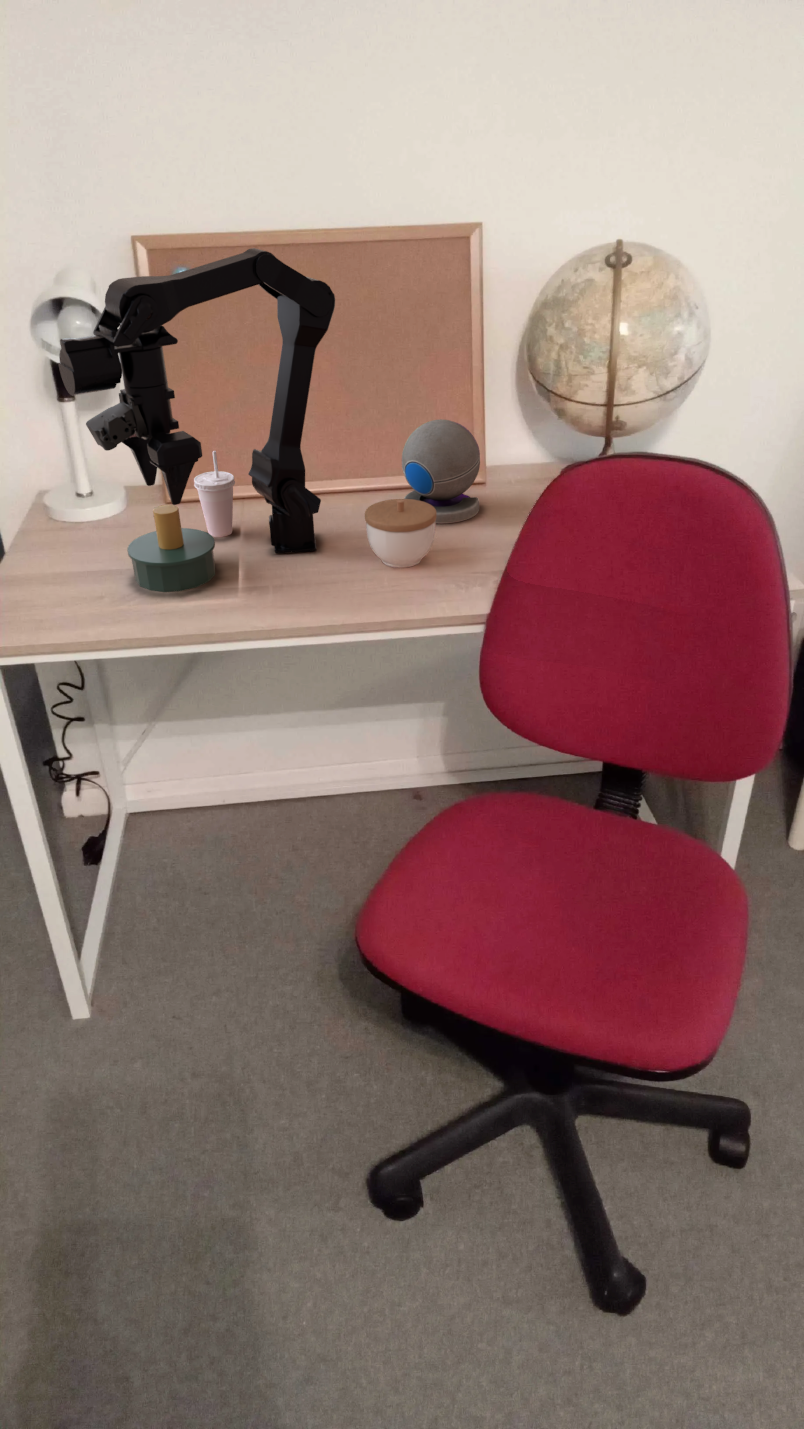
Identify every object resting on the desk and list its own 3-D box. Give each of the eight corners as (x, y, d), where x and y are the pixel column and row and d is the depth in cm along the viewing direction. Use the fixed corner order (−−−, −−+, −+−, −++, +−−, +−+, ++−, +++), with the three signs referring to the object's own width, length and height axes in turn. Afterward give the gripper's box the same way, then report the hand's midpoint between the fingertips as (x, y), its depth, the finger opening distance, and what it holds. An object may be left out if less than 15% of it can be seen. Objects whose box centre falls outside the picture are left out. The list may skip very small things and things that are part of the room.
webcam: (493, 507, 169) (496, 419, 161) (446, 530, 161) (446, 439, 153) (434, 490, 176) (435, 405, 168) (386, 511, 168) (384, 423, 160)
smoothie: (230, 545, 157) (220, 459, 150) (193, 540, 159) (182, 455, 151) (247, 529, 162) (238, 446, 155) (211, 525, 164) (201, 442, 156)
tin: (216, 559, 153) (213, 529, 150) (214, 592, 143) (210, 561, 141) (140, 564, 152) (135, 534, 149) (132, 597, 142) (127, 567, 140)
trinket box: (447, 551, 154) (447, 493, 149) (419, 579, 146) (418, 519, 141) (385, 540, 158) (383, 484, 153) (354, 567, 150) (351, 508, 144)
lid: (217, 532, 151) (211, 490, 148) (214, 566, 141) (208, 523, 137) (133, 537, 150) (125, 495, 146) (123, 573, 140) (115, 529, 136)
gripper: (63, 377, 135) (85, 487, 143) (112, 409, 122) (133, 528, 130) (141, 364, 140) (158, 471, 148) (196, 394, 127) (211, 509, 135)
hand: (163, 494), depth 141 cm, fingers open, 9 cm apart
